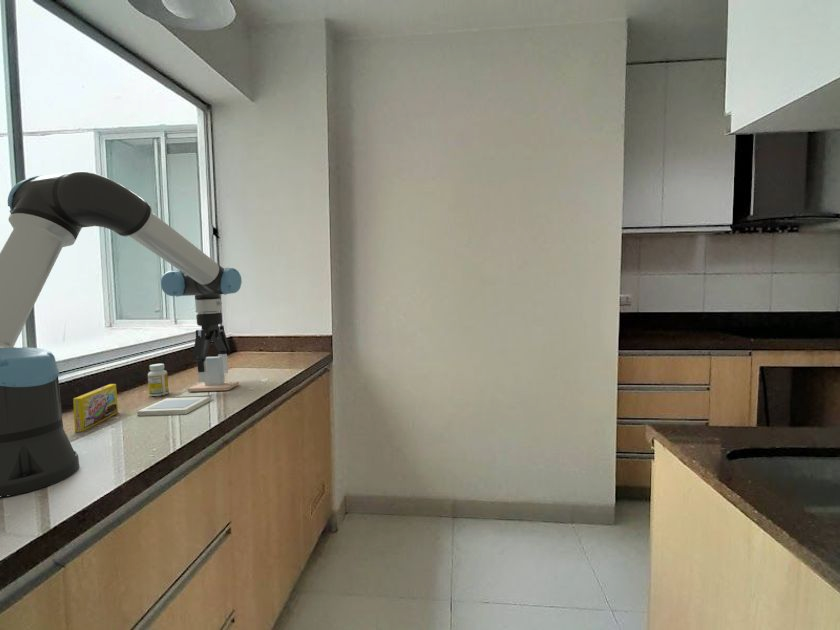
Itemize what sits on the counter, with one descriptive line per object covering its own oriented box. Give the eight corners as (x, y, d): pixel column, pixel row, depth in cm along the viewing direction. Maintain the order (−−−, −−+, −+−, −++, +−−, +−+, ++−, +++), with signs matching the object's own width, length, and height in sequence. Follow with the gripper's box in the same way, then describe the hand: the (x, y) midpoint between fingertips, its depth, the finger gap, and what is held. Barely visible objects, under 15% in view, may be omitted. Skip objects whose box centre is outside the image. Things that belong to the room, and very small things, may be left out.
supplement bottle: (156, 397, 137) (153, 366, 137) (145, 396, 140) (142, 365, 139) (172, 393, 142) (170, 363, 141) (162, 391, 145) (159, 362, 144)
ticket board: (185, 414, 117) (185, 409, 117) (137, 415, 118) (136, 410, 118) (211, 399, 131) (211, 395, 131) (168, 401, 132) (168, 396, 132)
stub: (227, 390, 142) (225, 359, 141) (187, 391, 142) (185, 360, 141) (238, 384, 150) (236, 354, 149) (200, 385, 150) (198, 356, 149)
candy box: (84, 432, 106) (80, 398, 106) (74, 433, 106) (70, 398, 105) (119, 412, 122) (116, 383, 122) (111, 413, 122) (108, 383, 121)
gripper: (200, 315, 132) (206, 385, 134) (237, 309, 157) (241, 369, 158) (175, 316, 132) (181, 386, 134) (216, 310, 157) (221, 370, 159)
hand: (214, 377), depth 146 cm, fingers open, 13 cm apart
